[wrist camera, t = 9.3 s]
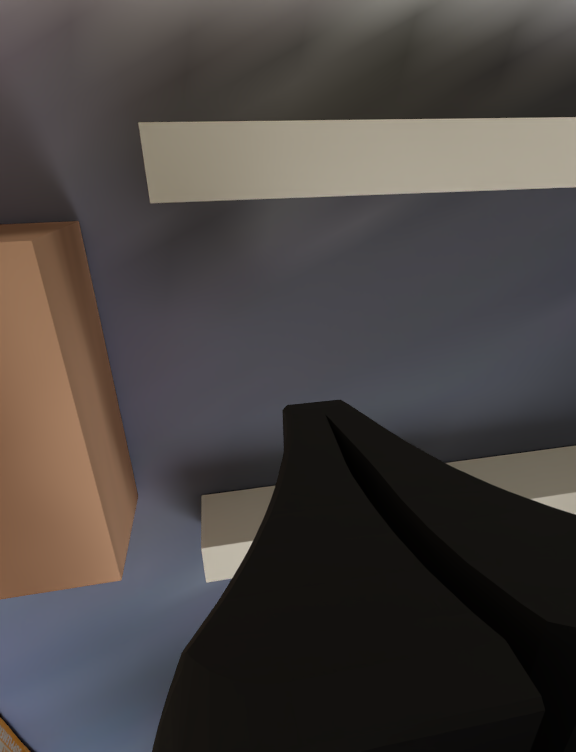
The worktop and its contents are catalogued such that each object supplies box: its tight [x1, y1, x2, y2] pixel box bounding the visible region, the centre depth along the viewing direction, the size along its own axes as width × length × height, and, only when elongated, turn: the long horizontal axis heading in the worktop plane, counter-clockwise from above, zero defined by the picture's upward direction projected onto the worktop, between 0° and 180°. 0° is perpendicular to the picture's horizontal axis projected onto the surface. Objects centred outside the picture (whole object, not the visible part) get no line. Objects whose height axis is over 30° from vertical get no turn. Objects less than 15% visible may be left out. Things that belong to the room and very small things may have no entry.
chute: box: [138, 117, 576, 583], centre depth 14 cm, size 16×13×2 cm
